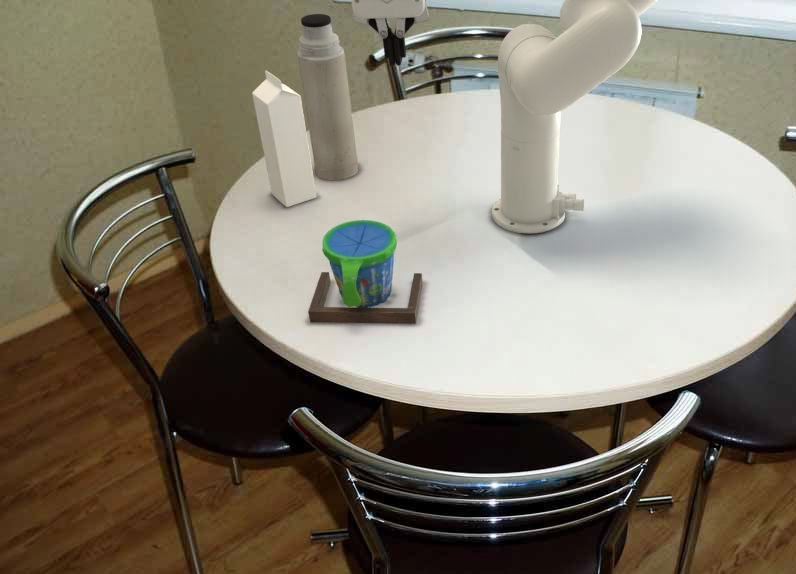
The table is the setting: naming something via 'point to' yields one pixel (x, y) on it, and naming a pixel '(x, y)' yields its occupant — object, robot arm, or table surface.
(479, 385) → the table surface
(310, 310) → the bay
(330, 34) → the thermos bottle
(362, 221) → the snack cup
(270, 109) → the milk
